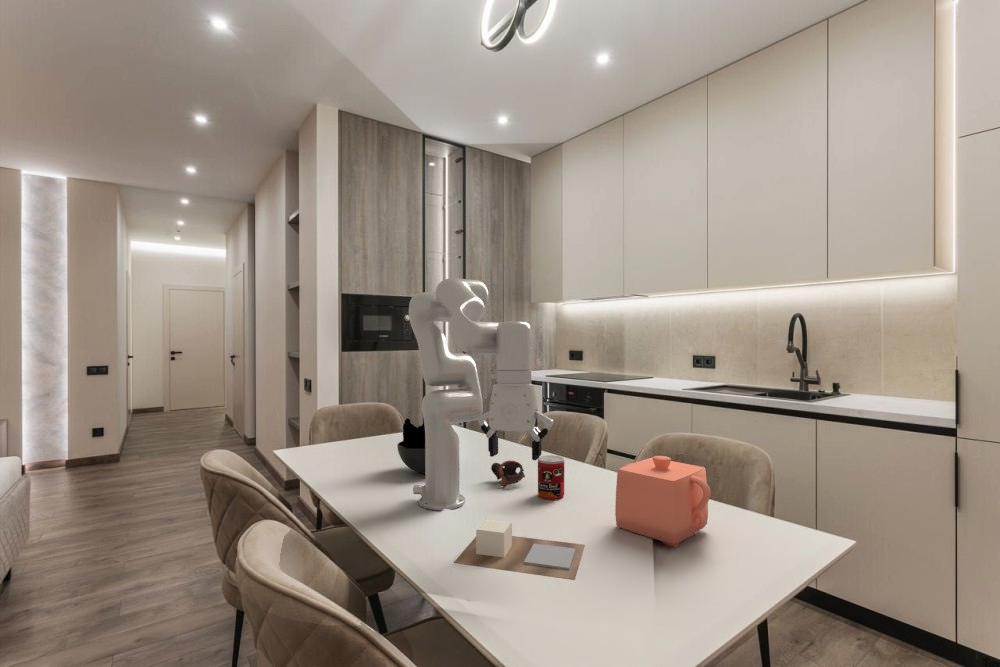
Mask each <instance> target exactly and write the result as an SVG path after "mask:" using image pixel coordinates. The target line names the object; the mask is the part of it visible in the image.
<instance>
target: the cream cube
mask: <svg viewBox="0 0 1000 667" xmlns="http://www.w3.org/2000/svg"><path fill="white" fill-rule="evenodd" d="M475 535H476V536H475V537H476V554H481V555H488V556H496V557H503V558H504V557H505V555H506V554H507V552H508V551H509V549H510V548H511V546H512V536H513V522H512V521H504V520H496V519H495V520H494V519H486V518H485V519H484V520H483V522H481V524H480V525H479V526H478V527H477V528H476V529H475Z"/></svg>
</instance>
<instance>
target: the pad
mask: <svg viewBox="0 0 1000 667" xmlns="http://www.w3.org/2000/svg"><path fill="white" fill-rule="evenodd" d="M575 552H576V549H575V548H567V547H559V546H550V545H542V544H533V546H532V548H531V550H530V552H529V553H528V555H527V557H526V559H525V561H524V564H529V565H536V566H544V567H551V568H558V569H566V570H570V567H571V564H572V561H573V558H574V555H575Z"/></svg>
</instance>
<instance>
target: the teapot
mask: <svg viewBox="0 0 1000 667" xmlns="http://www.w3.org/2000/svg"><path fill="white" fill-rule="evenodd" d="M706 471H707V470H706V468H705V467H704V466H700V465H694V464H688V463H685V462H678V461H673V460H672V458H671V457H669V456H665V455H655V456H652V457H649V458H646V459H643V460H639V461H636V462H633V463H626V464H625V465H623V466H622V467H620V468H618V469H617V473H616V474H617V475H616V488H615V505H614V506H615V510H614V511H615V512H614V514H615V524H616V527H617V528H619V529H622V530H625V531H628V532H631V533H635V534H638V535H641V536H644V537H646V538H647V537H648V538H650V539H655V540H657V541H660V542H662V544H663V545H665V546H668V547H678V546H679V545H680V543H682V542H683V541H684V540H687V539H689V537H691V535H692V536H695V535H696V533H697V532H699V531H701V530H702V529H704V528H705V527H706V525H707V524H708V518H709V517H708V515H709V504H708V503H709V501H710V499H711V494H712V492H711V487H710V486H709V484H708V483H707V472H706Z"/></svg>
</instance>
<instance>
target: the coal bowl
mask: <svg viewBox="0 0 1000 667" xmlns="http://www.w3.org/2000/svg"><path fill="white" fill-rule="evenodd" d="M402 438H403V439H402V441H399V442H398V443H397V445H396V446H397V451H398V455H399V458H400V459H401V460H402V463H404V465H405V466H406V467H408V468H409V469H410V470H412V471H414V472H417V473H420V474H425V425H424V422H423V423H422V425H418V426H415V425H414V424H413V423H411V419H410V418H408V417H407V418H406V419H405V420H404V423H403V425H402Z"/></svg>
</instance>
